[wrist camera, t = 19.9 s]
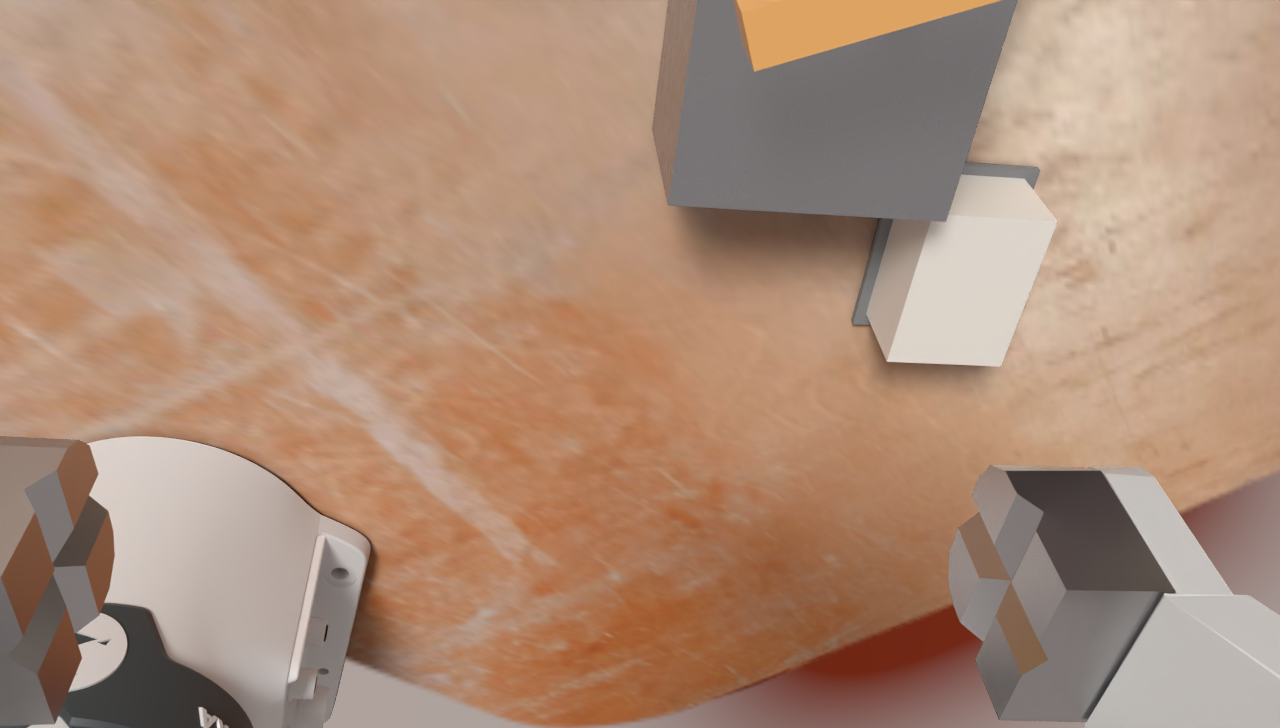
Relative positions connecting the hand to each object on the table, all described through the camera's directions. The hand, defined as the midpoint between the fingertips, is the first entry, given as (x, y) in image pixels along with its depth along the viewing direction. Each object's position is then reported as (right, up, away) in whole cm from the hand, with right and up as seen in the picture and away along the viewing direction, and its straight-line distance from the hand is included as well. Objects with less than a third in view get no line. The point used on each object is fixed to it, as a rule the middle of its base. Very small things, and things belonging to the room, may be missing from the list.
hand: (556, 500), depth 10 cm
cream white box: (+14, +6, +36) cm, 39 cm away
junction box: (+7, +15, +28) cm, 33 cm away
